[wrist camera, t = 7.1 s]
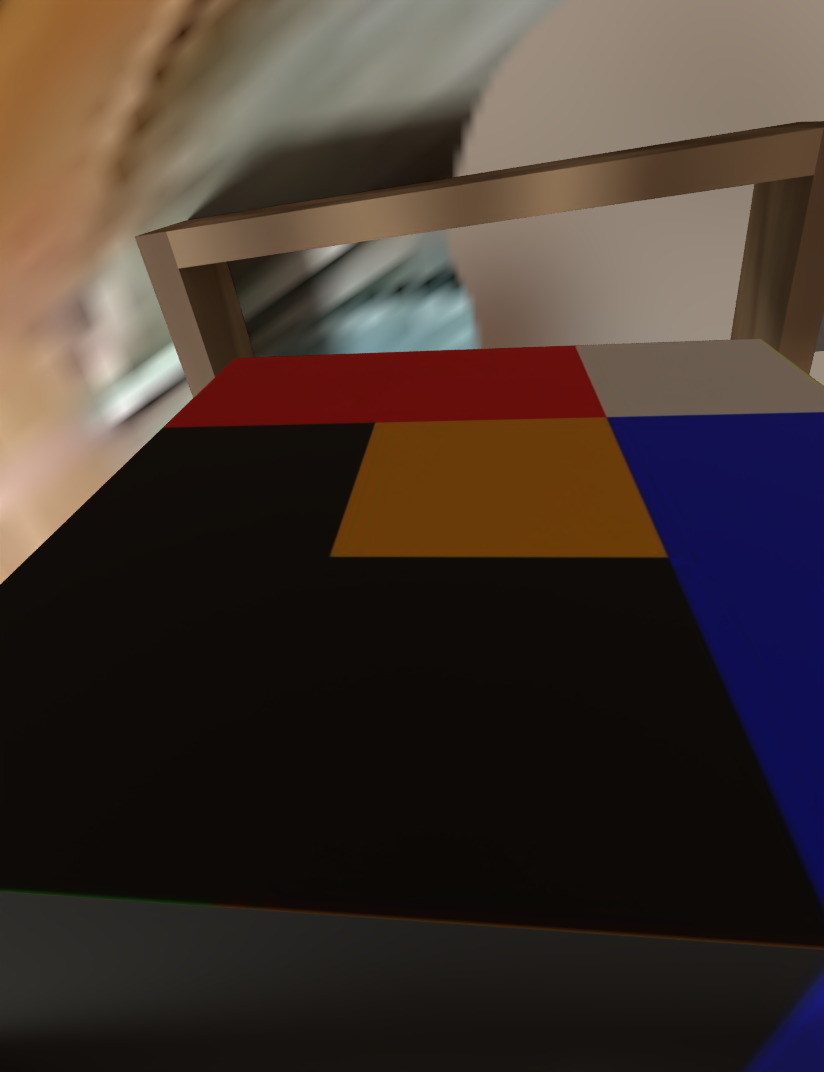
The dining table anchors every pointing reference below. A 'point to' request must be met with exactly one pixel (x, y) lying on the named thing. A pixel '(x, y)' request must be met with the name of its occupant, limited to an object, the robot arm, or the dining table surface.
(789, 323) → the pocket frame
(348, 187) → the dining table surface
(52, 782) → the puzzle toy
